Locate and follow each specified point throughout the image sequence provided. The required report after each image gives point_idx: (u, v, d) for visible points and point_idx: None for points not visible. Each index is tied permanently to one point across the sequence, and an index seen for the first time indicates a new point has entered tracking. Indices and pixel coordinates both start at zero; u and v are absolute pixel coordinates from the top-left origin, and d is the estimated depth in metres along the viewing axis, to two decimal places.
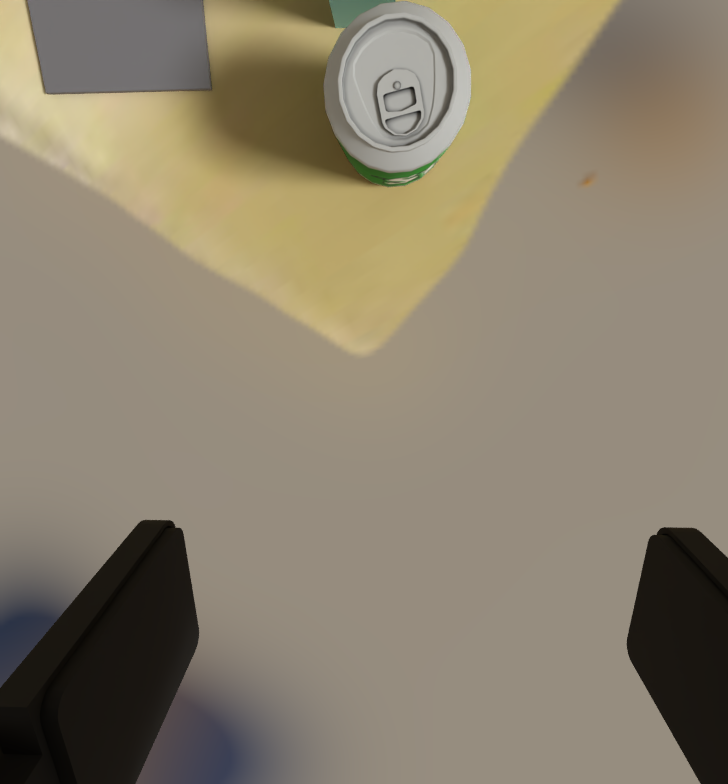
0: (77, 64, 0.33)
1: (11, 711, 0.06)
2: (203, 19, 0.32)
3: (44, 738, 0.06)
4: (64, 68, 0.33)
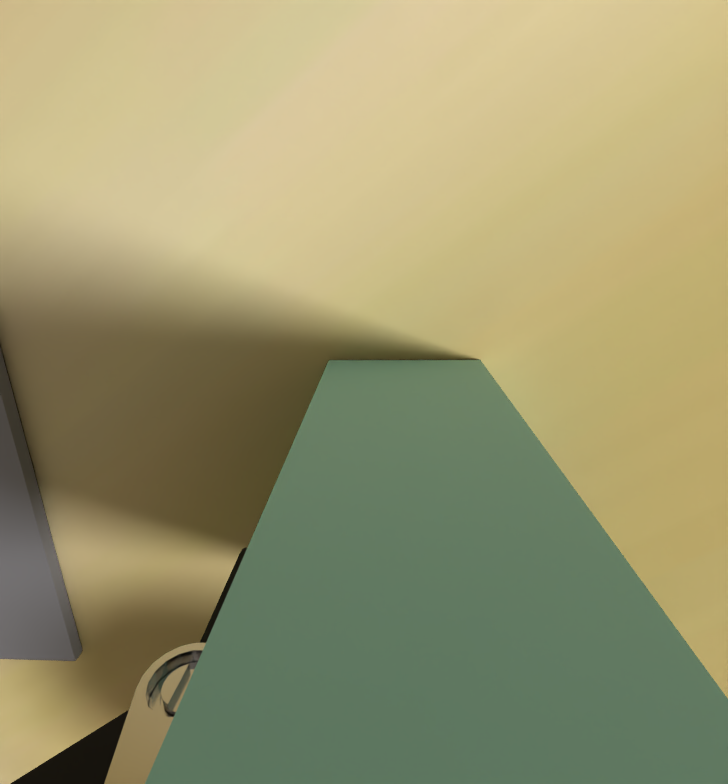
0: None
1: None
2: (50, 557, 0.15)
3: None
4: None
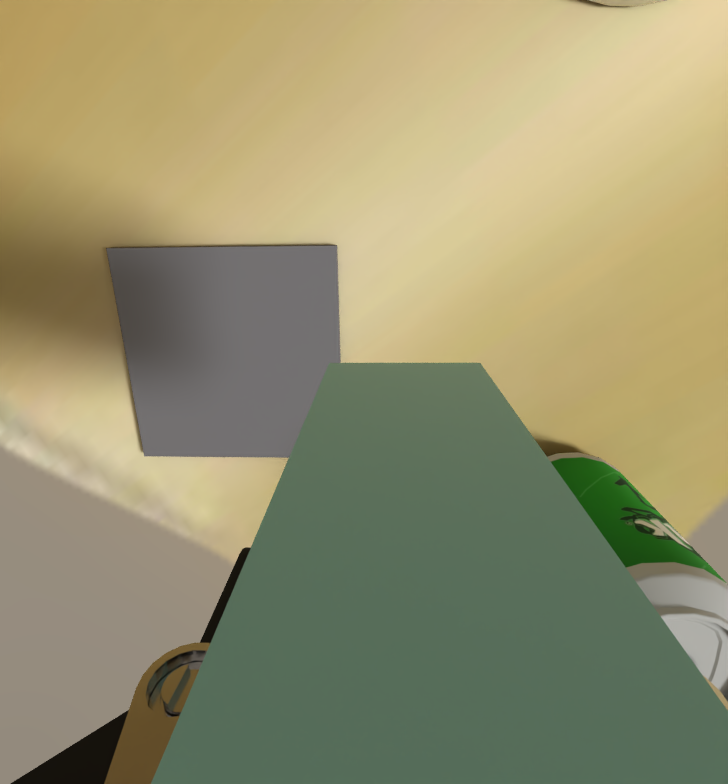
0: (184, 430, 0.28)
1: None
2: None
3: None
4: (168, 434, 0.28)
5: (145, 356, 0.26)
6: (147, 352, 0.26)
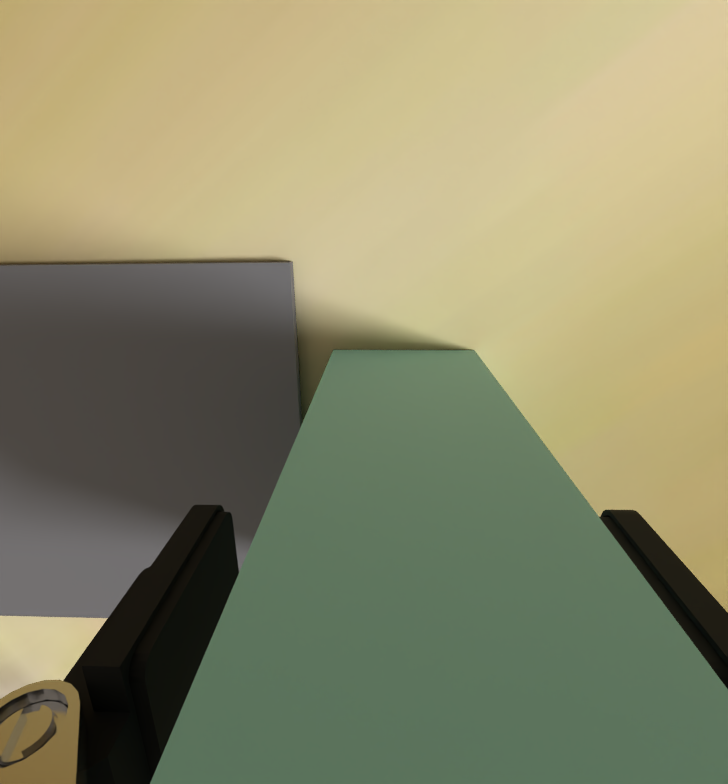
0: (39, 577, 0.16)
1: (104, 670, 0.06)
2: None
3: (132, 697, 0.06)
4: (12, 582, 0.16)
5: None
6: None
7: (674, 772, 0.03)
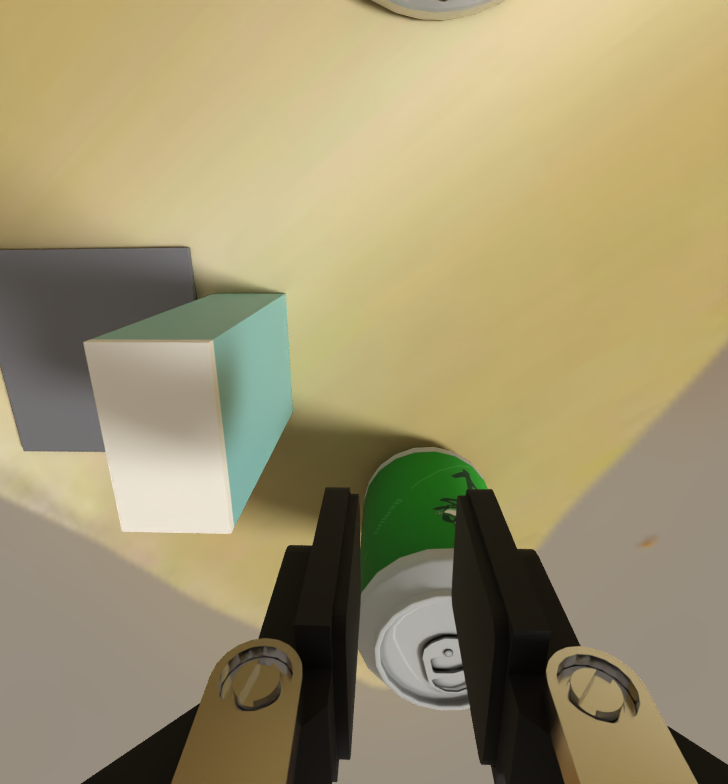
0: (59, 426, 0.29)
1: (314, 629, 0.07)
2: None
3: (332, 655, 0.07)
4: (44, 429, 0.29)
5: (16, 354, 0.27)
6: (17, 350, 0.27)
7: (197, 335, 0.16)
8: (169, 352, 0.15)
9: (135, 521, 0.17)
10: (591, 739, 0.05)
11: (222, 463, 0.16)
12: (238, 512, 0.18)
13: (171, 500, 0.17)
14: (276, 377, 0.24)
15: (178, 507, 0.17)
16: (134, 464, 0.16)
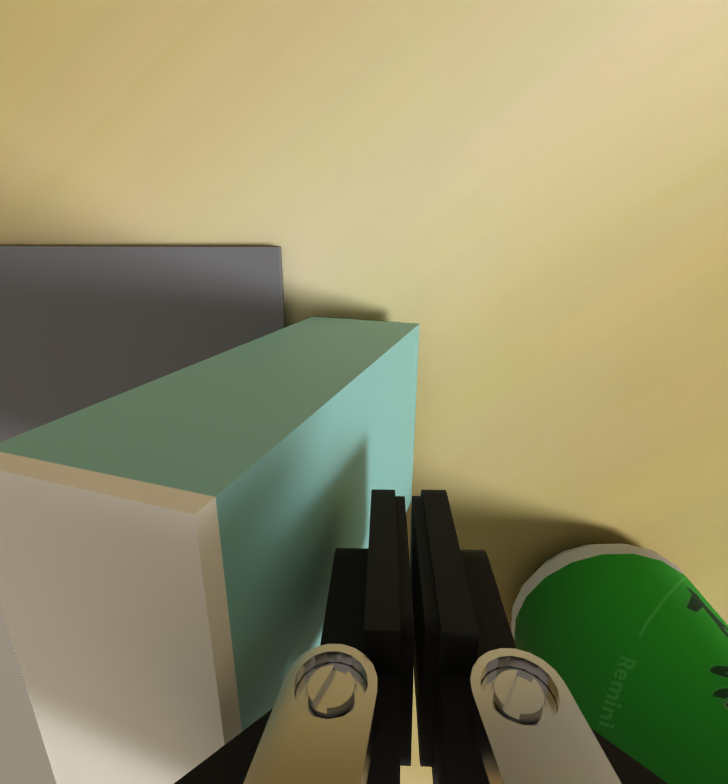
0: None
1: (384, 635, 0.07)
2: None
3: (400, 660, 0.07)
4: None
5: (12, 400, 0.19)
6: (15, 394, 0.18)
7: (195, 466, 0.07)
8: (111, 517, 0.06)
9: None
10: (517, 746, 0.05)
11: None
12: None
13: (133, 782, 0.08)
14: (388, 468, 0.14)
15: None
16: (66, 701, 0.08)
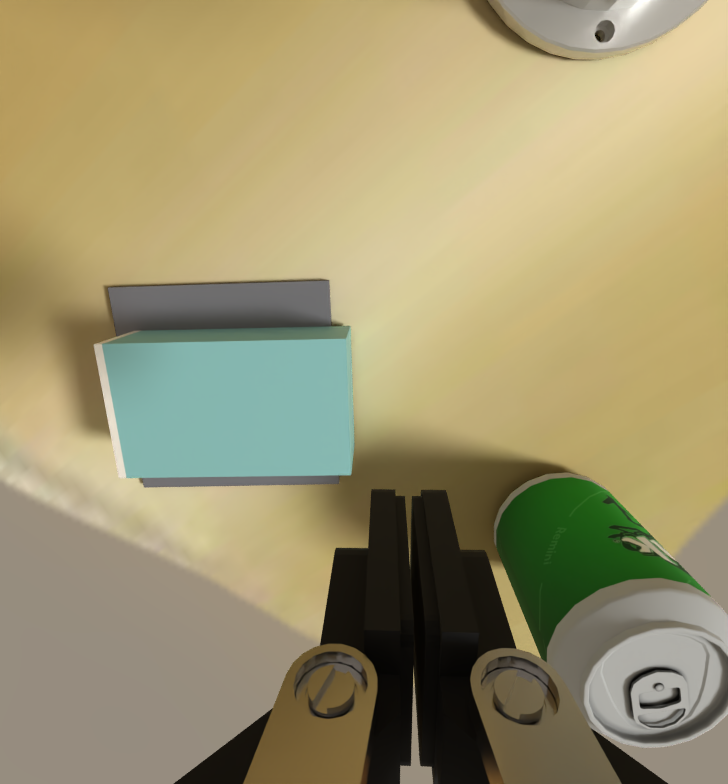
0: None
1: (385, 635, 0.06)
2: None
3: (400, 660, 0.07)
4: None
5: None
6: None
7: (121, 340, 0.23)
8: None
9: None
10: (517, 746, 0.05)
11: (109, 427, 0.24)
12: (137, 473, 0.24)
13: None
14: (277, 416, 0.23)
15: None
16: None
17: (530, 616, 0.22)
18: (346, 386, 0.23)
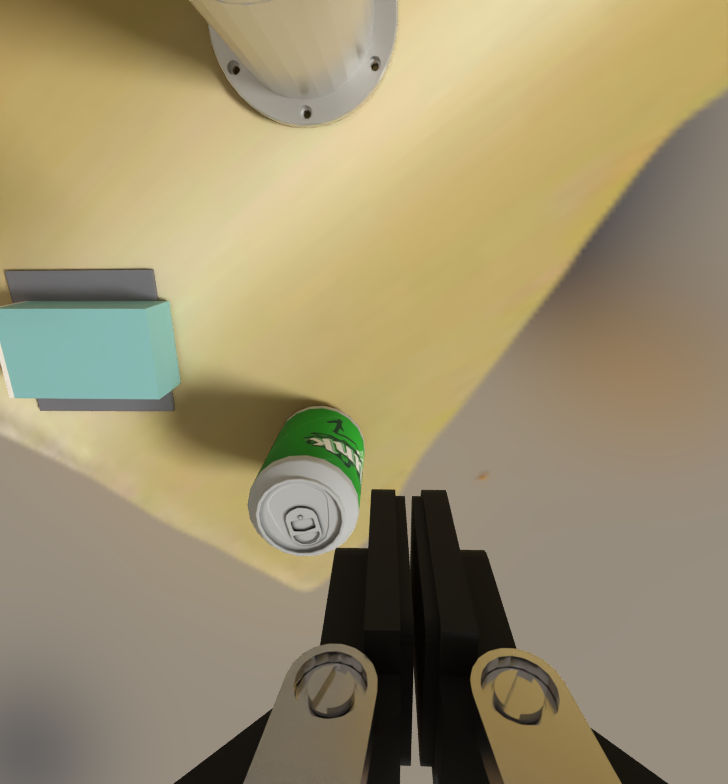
0: None
1: (385, 635, 0.06)
2: None
3: (401, 660, 0.07)
4: None
5: None
6: None
7: (6, 307, 0.35)
8: None
9: None
10: (516, 746, 0.05)
11: None
12: (21, 395, 0.37)
13: None
14: (107, 358, 0.36)
15: None
16: None
17: None
18: (149, 340, 0.35)
